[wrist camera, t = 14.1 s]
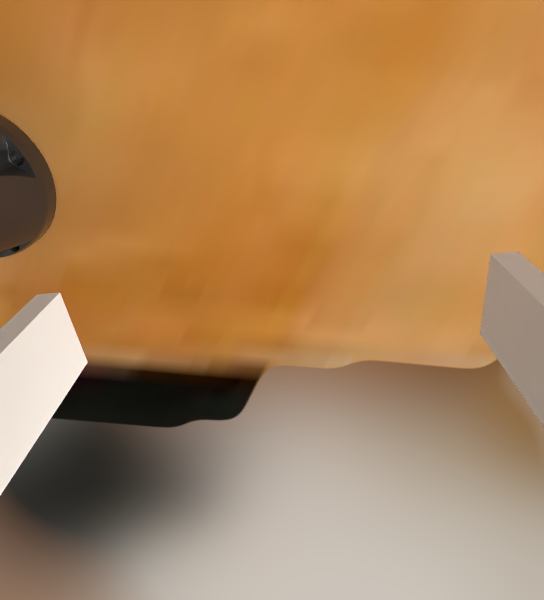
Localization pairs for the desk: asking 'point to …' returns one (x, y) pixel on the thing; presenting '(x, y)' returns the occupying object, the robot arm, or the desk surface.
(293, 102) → the desk surface
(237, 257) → the desk surface
